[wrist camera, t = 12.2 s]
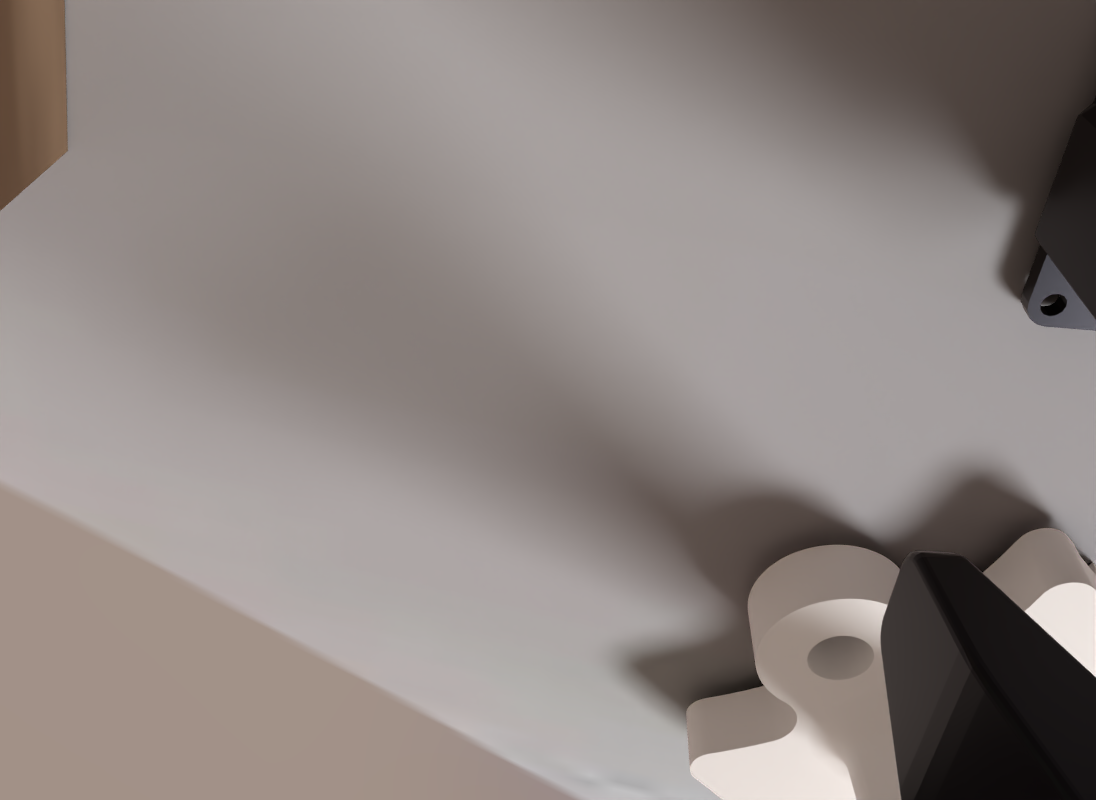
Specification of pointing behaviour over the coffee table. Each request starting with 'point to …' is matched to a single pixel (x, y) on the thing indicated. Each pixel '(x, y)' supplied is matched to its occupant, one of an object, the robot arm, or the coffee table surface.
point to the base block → (31, 92)
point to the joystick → (852, 669)
